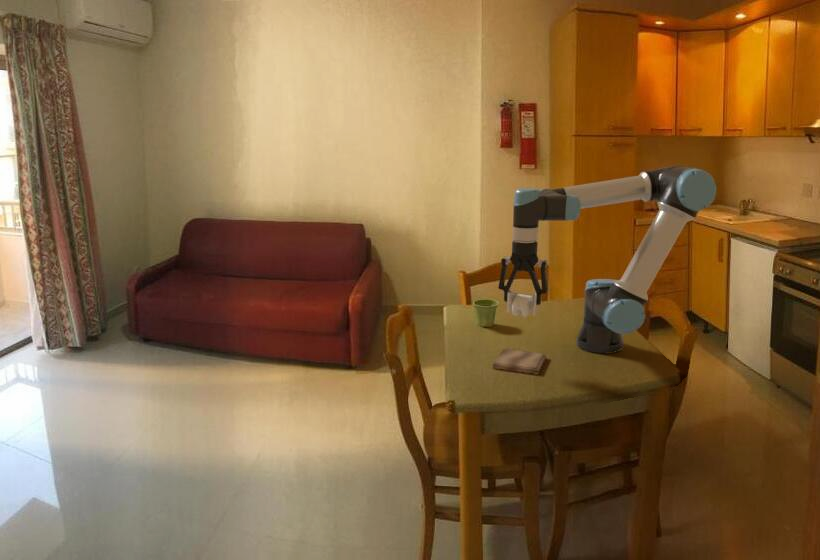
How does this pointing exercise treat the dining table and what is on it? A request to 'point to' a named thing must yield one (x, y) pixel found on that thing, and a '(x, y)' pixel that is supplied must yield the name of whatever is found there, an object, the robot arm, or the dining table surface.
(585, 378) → the dining table surface
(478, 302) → the plant pot
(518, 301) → the elephant figurine
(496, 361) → the folded cloth
